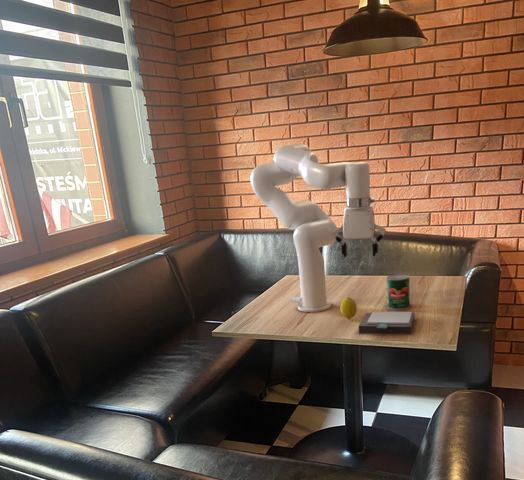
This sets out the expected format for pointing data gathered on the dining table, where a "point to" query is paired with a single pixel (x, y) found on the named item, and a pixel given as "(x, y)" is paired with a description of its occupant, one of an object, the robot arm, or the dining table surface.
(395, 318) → the scale
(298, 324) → the dining table surface
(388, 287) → the canned tomato
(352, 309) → the lemon
